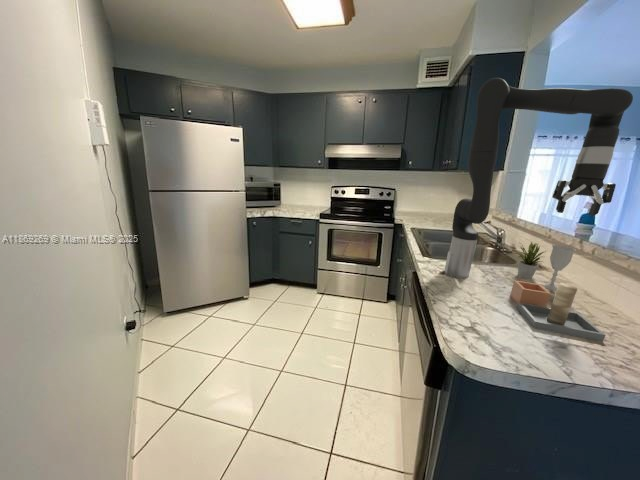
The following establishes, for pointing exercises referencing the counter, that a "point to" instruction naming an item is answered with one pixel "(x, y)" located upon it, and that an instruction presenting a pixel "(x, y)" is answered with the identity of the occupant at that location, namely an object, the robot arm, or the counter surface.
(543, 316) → the tray
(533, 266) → the house plant
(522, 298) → the terracotta open box
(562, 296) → the peg
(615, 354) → the counter surface
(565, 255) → the chalice
